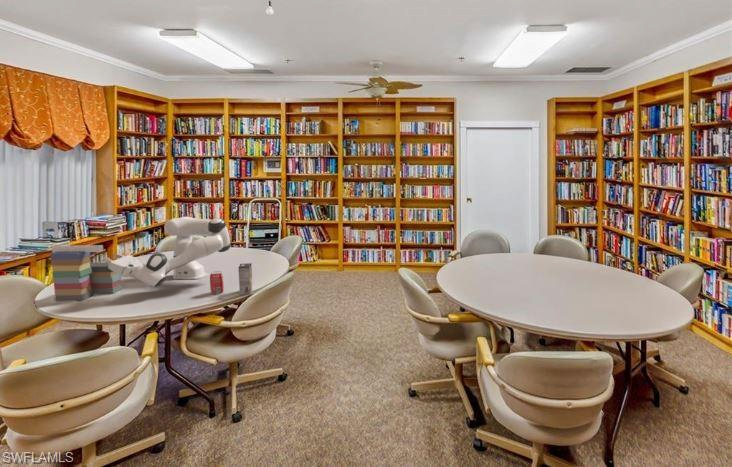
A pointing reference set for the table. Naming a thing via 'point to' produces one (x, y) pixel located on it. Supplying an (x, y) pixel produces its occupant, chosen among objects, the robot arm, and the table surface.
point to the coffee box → (245, 278)
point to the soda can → (216, 282)
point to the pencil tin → (78, 248)
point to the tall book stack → (71, 275)
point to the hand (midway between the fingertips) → (110, 256)
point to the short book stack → (104, 279)
